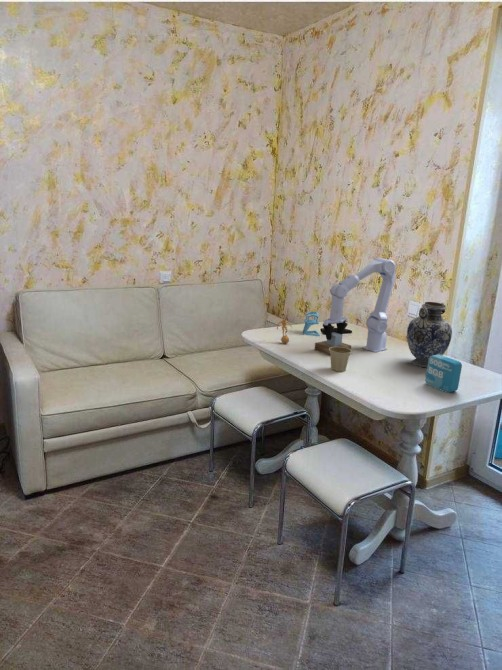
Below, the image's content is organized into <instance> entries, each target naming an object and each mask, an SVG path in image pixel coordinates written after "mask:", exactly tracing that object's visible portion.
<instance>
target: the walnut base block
mask: <svg viewBox="0 0 502 670" xmlns="http://www.w3.org/2000/svg"><path fill="white" fill-rule="evenodd" d="M326 343H327V340H323V341H318V342H317V341H316V342H315V343H314V351H317V352H319V353H322V354H325V355H328V356H330V351H329V348H331V347H344V348H348V349H350V350H351V351H352V345H350V344H347V343H344V342H342V345H339V346H332V345H328V344H326Z"/></svg>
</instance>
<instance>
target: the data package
mask: <svg viewBox="0 0 502 670" xmlns="http://www.w3.org/2000/svg"><path fill="white" fill-rule="evenodd" d="M462 368H463V365H462V362H461V361H460V360H456V359H454V358H450V357H448V356H445V355H432V356H430V357H429V360H428V366H427V368H426V373H425V383H426V384H427V385H428V384H429V385H428V386H430V385H431V387H433V388H435V387H436V388H435V389H438V390H440V389H441V390H440V391H442V390H443V392H445V391H446V392H445V393H451V392H456V391H457V390H458V388H459V386H460V379H461V374H462Z"/></svg>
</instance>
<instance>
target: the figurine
mask: <svg viewBox="0 0 502 670" xmlns="http://www.w3.org/2000/svg"><path fill="white" fill-rule="evenodd" d="M279 324H282V326H281V329H282V336H281V339H280V341H281V343H282V344H288V343H289V342H290V338H289V336H288V334H287V332H288V325H287V324H289V326H290V327H291V328H293V326H292V324H291V323H290V322H289V321H288V320H286V319H285V318H284V319H282V320H280V321H279V322H278V323H277V327H276V330H278V329H279Z"/></svg>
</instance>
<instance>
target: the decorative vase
mask: <svg viewBox="0 0 502 670" xmlns="http://www.w3.org/2000/svg"><path fill="white" fill-rule="evenodd" d="M421 306H422V307H420V308H419V311H418V315H417V316H416V317H414V318H413V319H412V320H410V321H409V324H408V326H407V330H406V331H407V332H406V340H407V341H406V342H407V346H408V349H409V351H410V354H411V355H412V356H413V357H414V359H413V360H412V361H411V363H412V364H413V365H414V366H416V367H419V366H420V367H419V368H424V367H426V368H425V369H427V366H428V360H429V357H430V356H432V355H442V356H444V354H445V352H447V350H448V348H449V346H450V344H451V340H452V336H453V328H452V325H451V324H450V322H449V321H447V320H446V319H444V318H443V316H442V315H444V314H445V312H446V309H447V308H446V304H445V303H444V302H437V301H425V302H424V304H422V305H421Z"/></svg>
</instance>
